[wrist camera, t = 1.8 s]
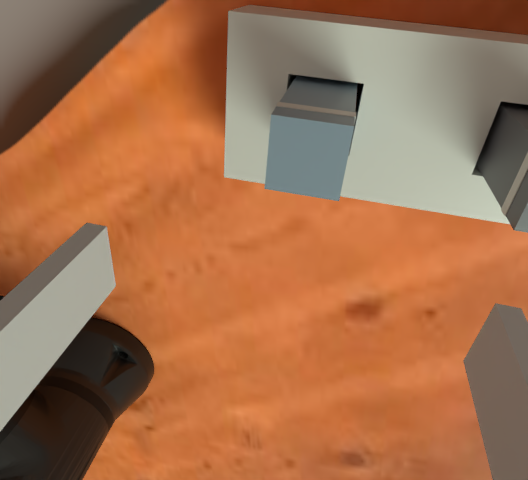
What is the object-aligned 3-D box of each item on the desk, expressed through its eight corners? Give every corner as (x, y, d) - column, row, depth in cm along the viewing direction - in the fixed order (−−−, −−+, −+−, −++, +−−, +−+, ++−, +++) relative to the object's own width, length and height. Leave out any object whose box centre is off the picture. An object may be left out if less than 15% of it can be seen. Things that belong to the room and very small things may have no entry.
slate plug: (296, 119, 36) (263, 189, 24) (303, 64, 33) (270, 113, 22) (348, 126, 35) (339, 201, 24) (358, 71, 33) (355, 125, 21)
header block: (242, 150, 38) (224, 177, 34) (249, 4, 32) (228, 11, 27) (558, 200, 35) (590, 237, 30) (642, 47, 28) (701, 63, 23)
